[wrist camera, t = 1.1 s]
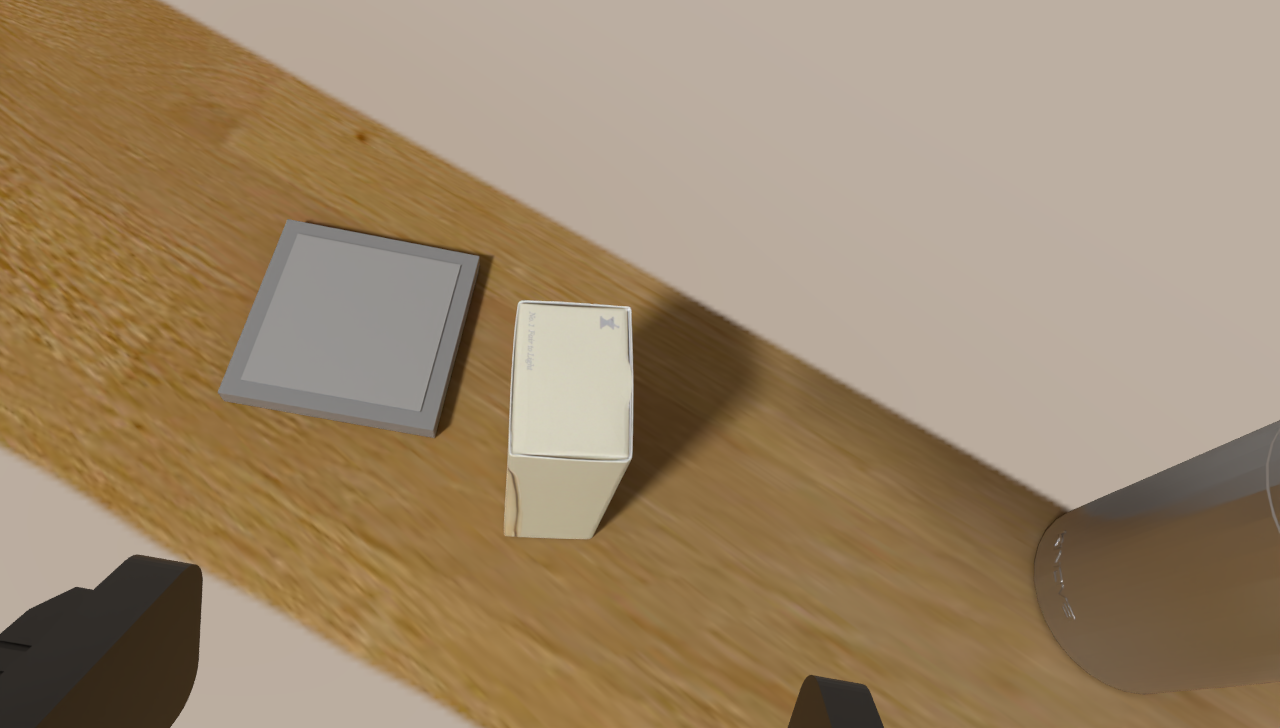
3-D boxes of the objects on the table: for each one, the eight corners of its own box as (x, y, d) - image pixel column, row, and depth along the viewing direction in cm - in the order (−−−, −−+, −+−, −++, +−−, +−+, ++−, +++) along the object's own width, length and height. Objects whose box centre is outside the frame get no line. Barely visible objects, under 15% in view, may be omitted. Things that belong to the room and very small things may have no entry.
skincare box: (511, 416, 41) (513, 291, 30) (600, 420, 41) (633, 300, 30) (502, 542, 38) (501, 456, 27) (598, 545, 39) (634, 461, 28)
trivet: (479, 266, 44) (479, 255, 43) (434, 437, 40) (432, 429, 39) (292, 230, 43) (287, 217, 42) (224, 401, 39) (217, 391, 38)
